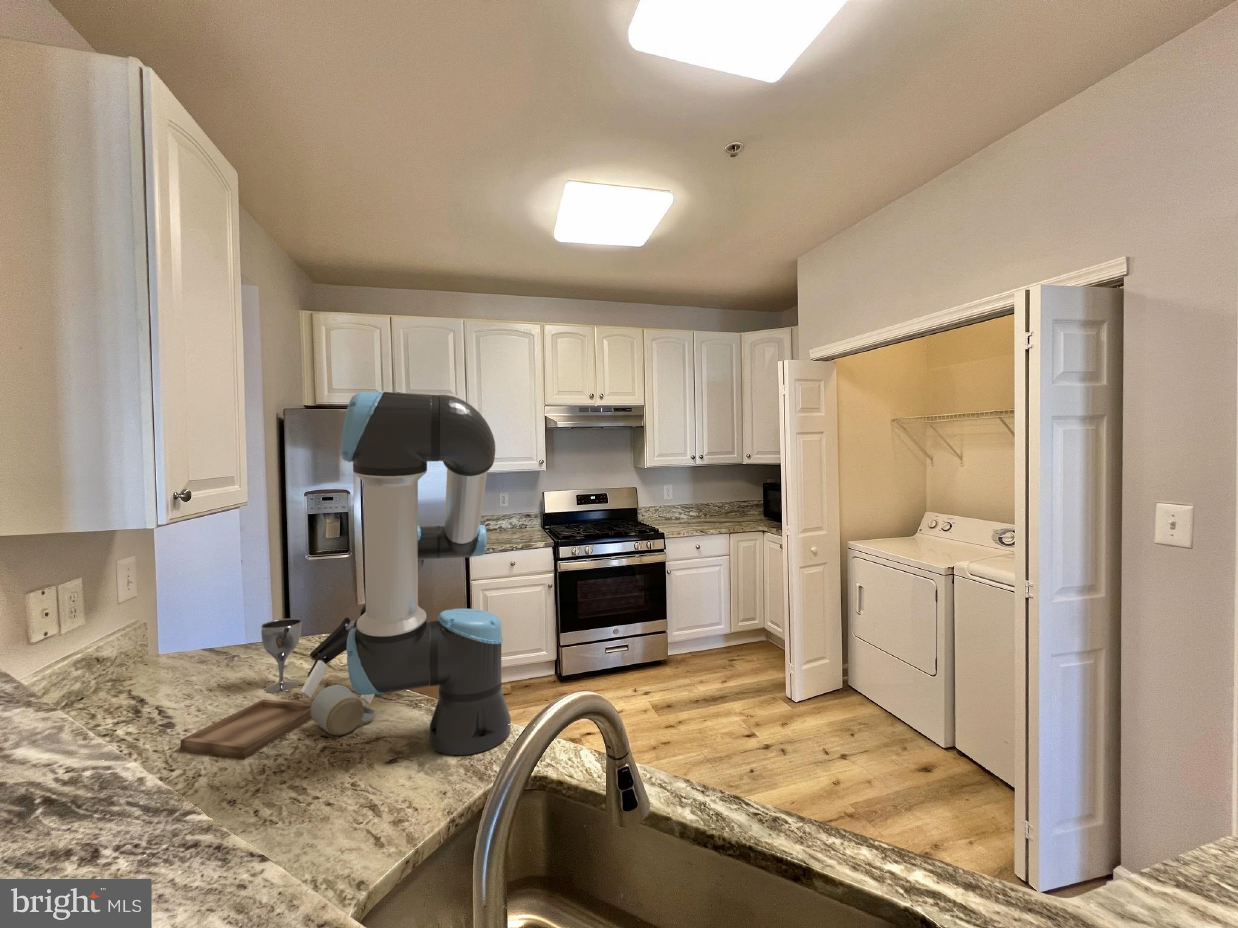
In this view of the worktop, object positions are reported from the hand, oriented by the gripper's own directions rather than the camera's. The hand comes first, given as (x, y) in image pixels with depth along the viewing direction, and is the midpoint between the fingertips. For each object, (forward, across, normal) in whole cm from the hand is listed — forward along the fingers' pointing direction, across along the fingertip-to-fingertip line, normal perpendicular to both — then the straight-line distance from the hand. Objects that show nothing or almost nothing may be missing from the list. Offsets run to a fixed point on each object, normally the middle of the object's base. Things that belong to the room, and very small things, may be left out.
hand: (334, 697), depth 100 cm
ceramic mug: (+4, -1, -6) cm, 7 cm away
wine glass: (-6, +28, -15) cm, 32 cm away
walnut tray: (+7, +15, -1) cm, 16 cm away
